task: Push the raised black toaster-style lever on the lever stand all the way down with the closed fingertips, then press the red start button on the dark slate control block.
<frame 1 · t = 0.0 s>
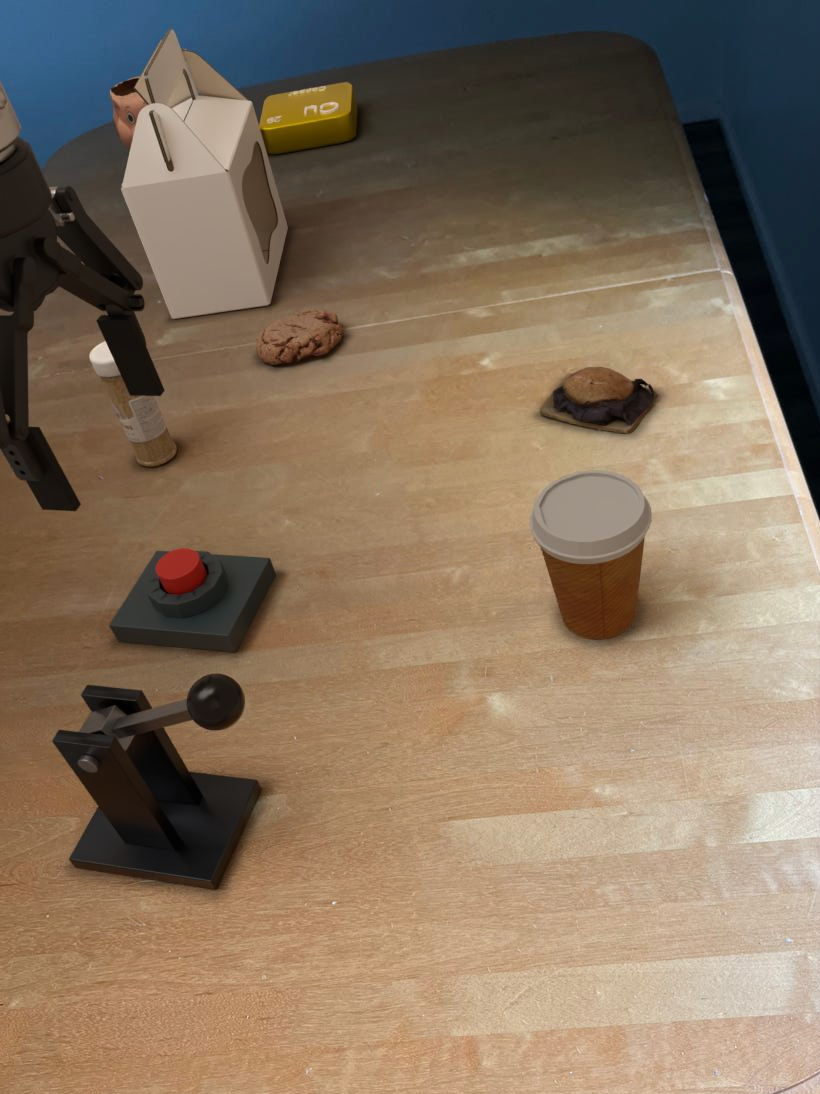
hand: (107, 447, 78), 22 cm above the table, tool pointing down, fingers open, 13 cm apart
lever stand: (169, 827, 81), on the table
control block: (198, 607, 98), on the table
start button: (181, 571, 95), point 5 cm above the table, slide at 0.1 cm
sprinkles bottle: (158, 457, 116), on the table
disposable coffee cup: (598, 614, 90), on the table
gable box: (233, 273, 144), on the table
element tile: (313, 132, 175), on the table
decorative planter: (173, 172, 172), on the table
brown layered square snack: (598, 407, 111), on the table
cookie: (302, 347, 128), on the table
toaster lever: (161, 716, 70), point 14 cm above the table, hinge at 25.0°
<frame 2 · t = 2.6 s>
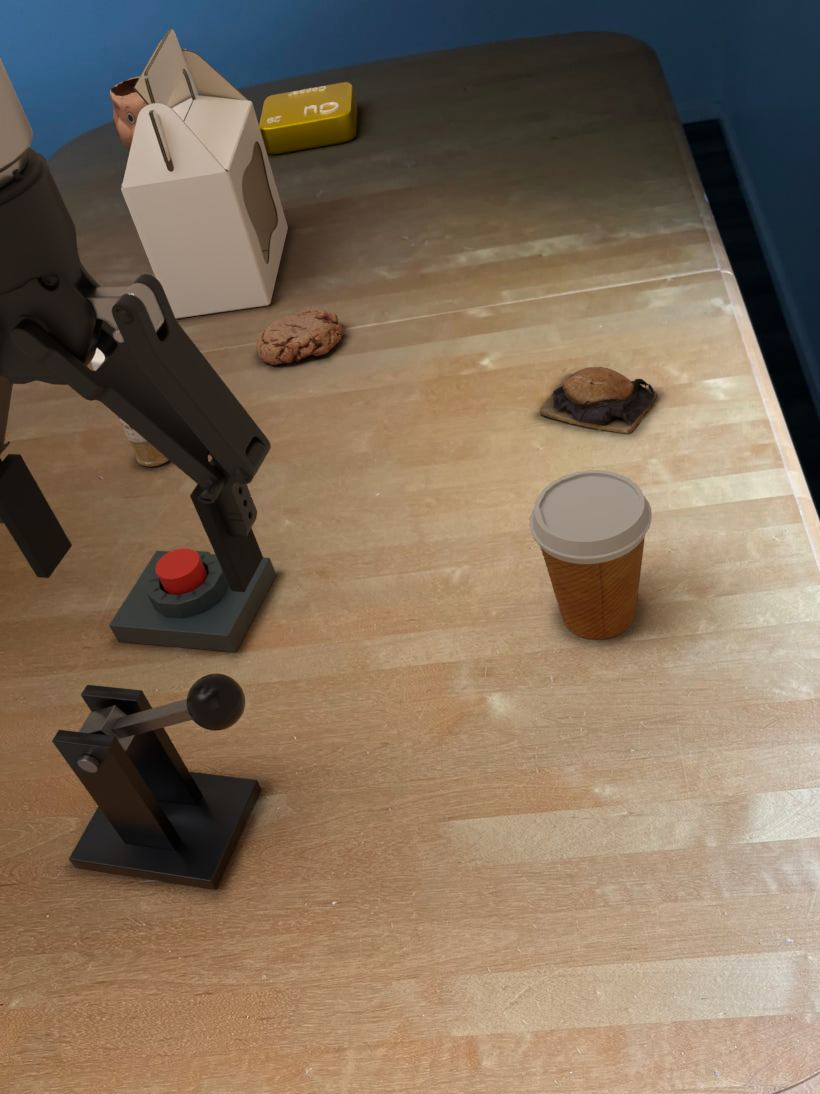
hand: (148, 567, 58), 28 cm above the table, tool pointing down, fingers open, 11 cm apart
nothing on the table moved.
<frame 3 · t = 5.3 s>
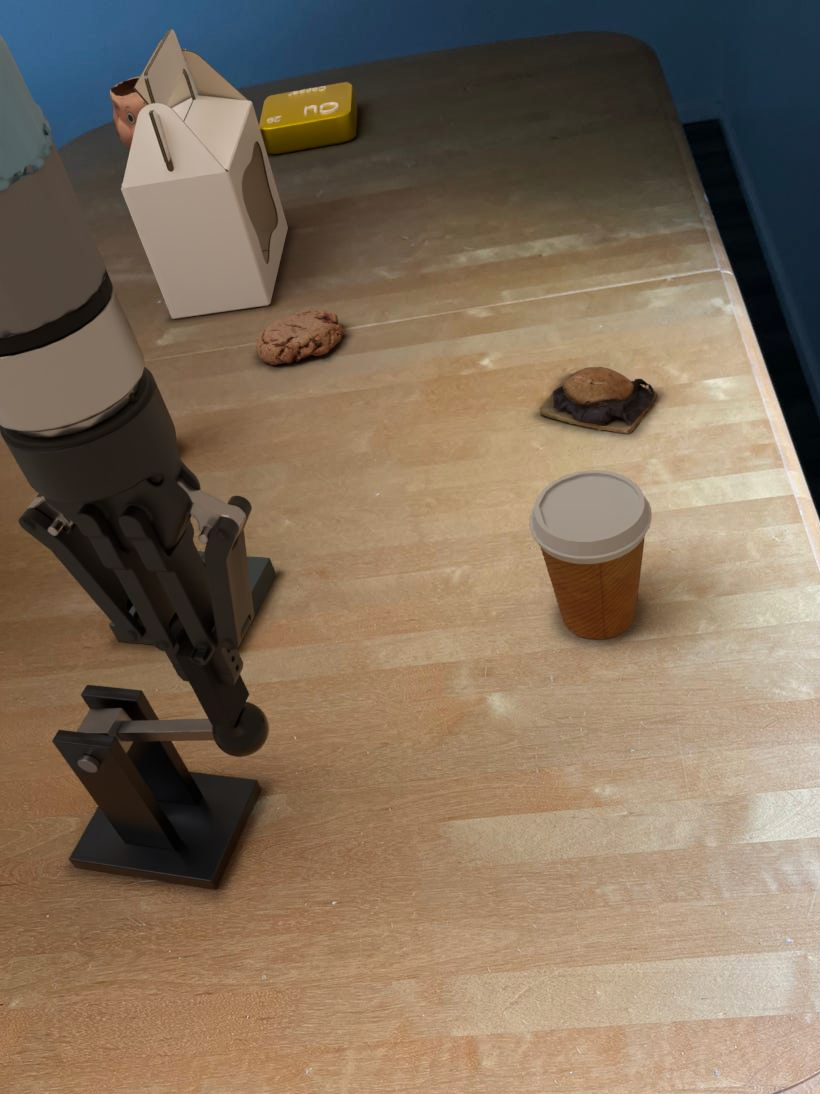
hand: (230, 709, 67), 16 cm above the table, tool pointing down, fingers closed
toaster lever: (174, 730, 70), point 13 cm above the table, hinge at 10.7°, touching gripper
everything else where it was.
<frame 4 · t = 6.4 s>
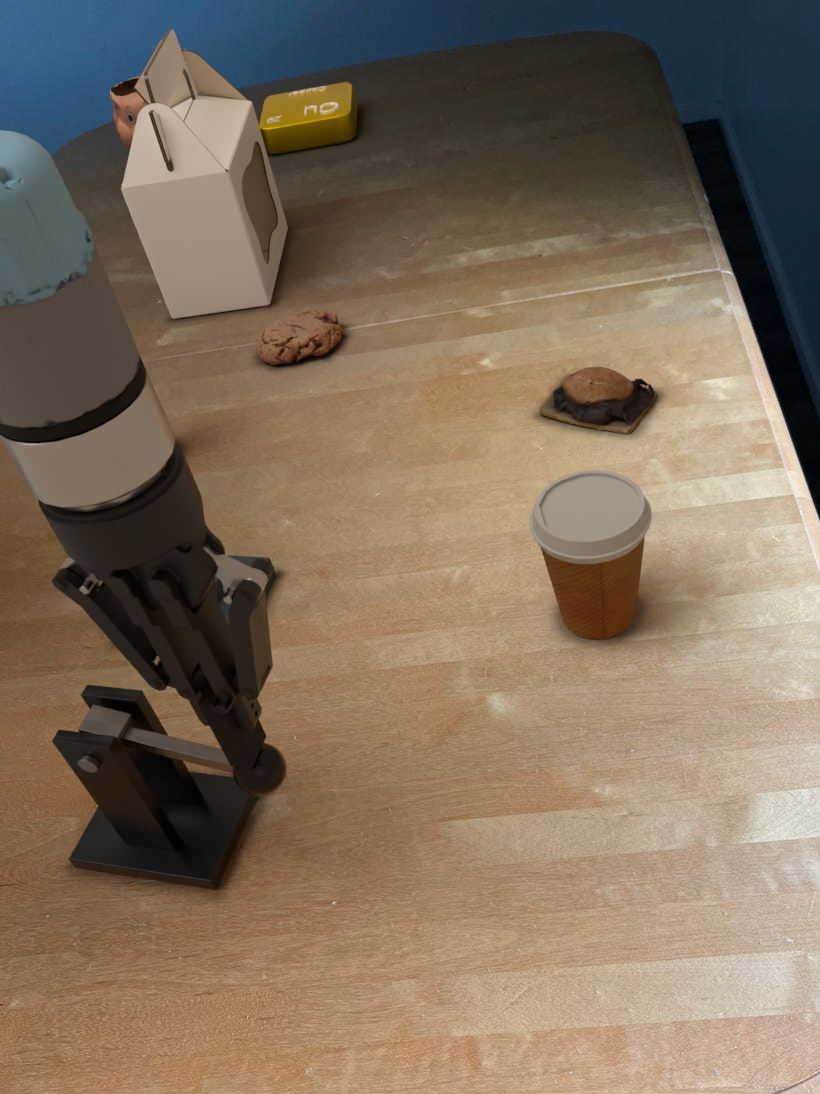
hand: (248, 750, 70), 12 cm above the table, tool pointing down, fingers closed
toaster lever: (186, 750, 72), point 11 cm above the table, hinge at -12.6°, touching gripper
everything else where it was.
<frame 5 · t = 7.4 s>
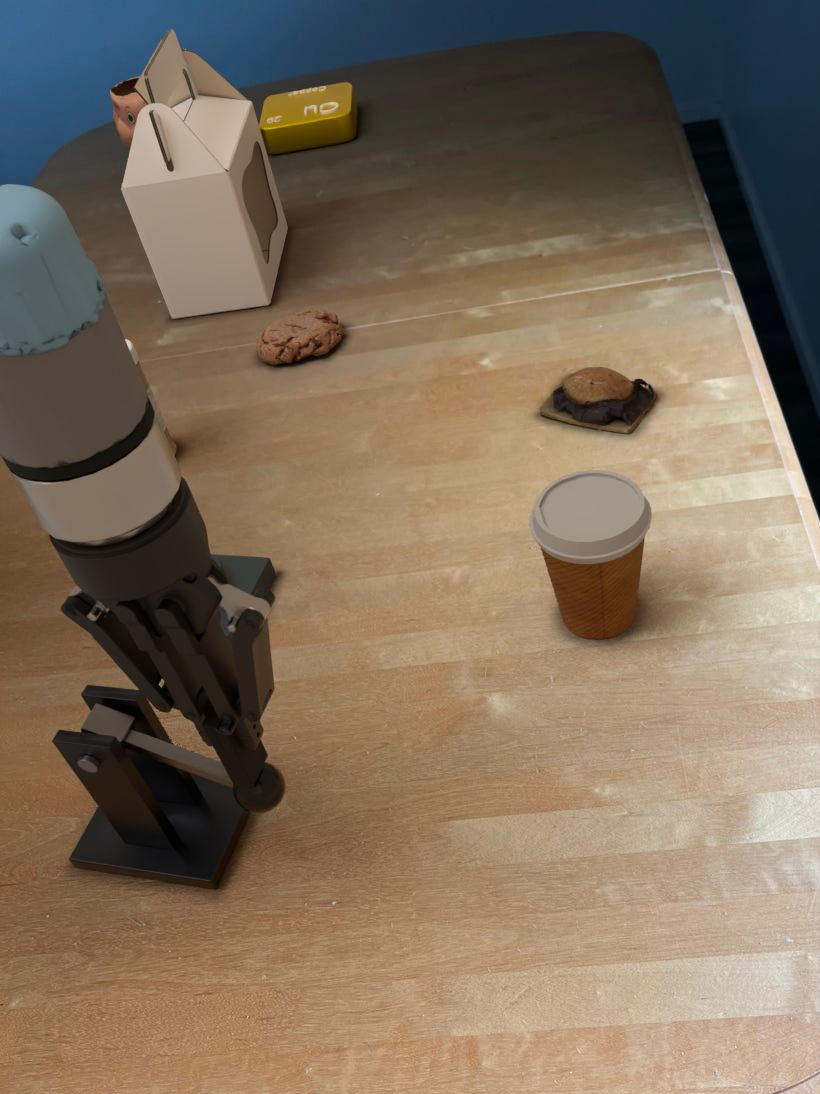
hand: (250, 769, 72), 9 cm above the table, tool pointing down, fingers closed
toaster lever: (186, 760, 73), point 10 cm above the table, hinge at -24.9°, touching gripper
everything else where it was.
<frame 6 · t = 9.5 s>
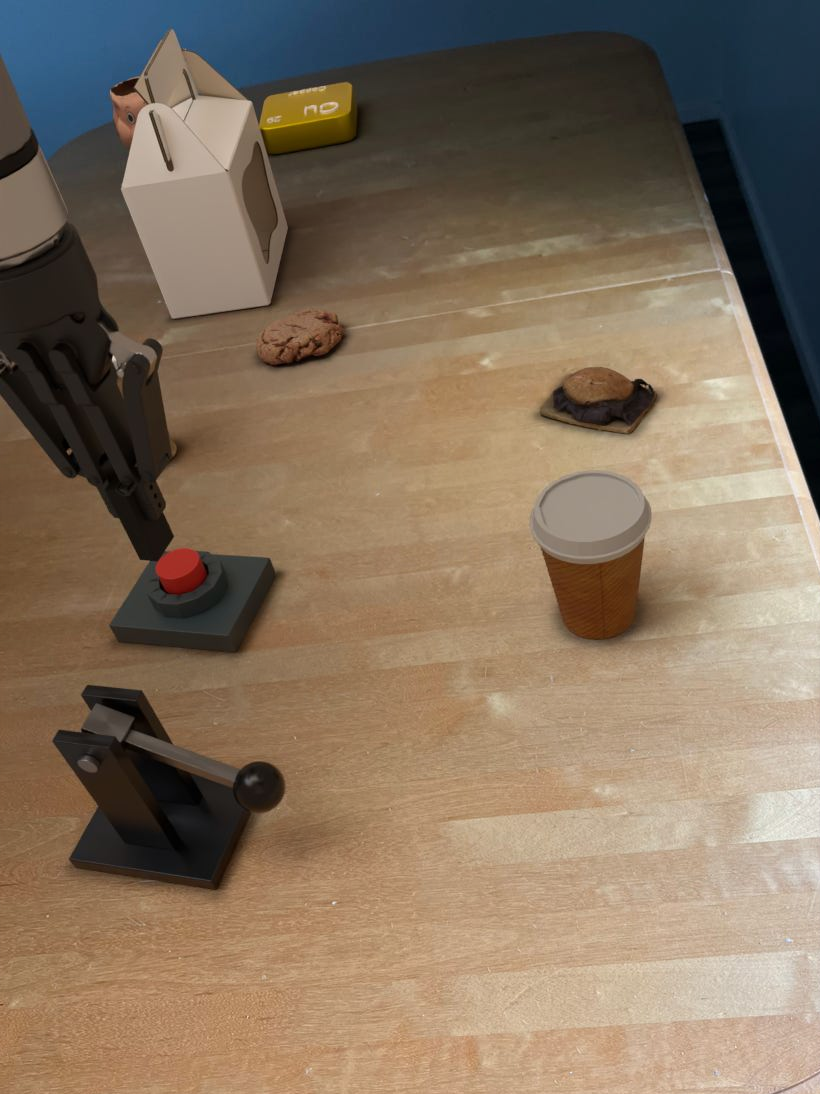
hand: (157, 547, 77), 17 cm above the table, tool pointing down, fingers closed
toaster lever: (186, 760, 73), point 10 cm above the table, hinge at -24.9°
everything else where it was.
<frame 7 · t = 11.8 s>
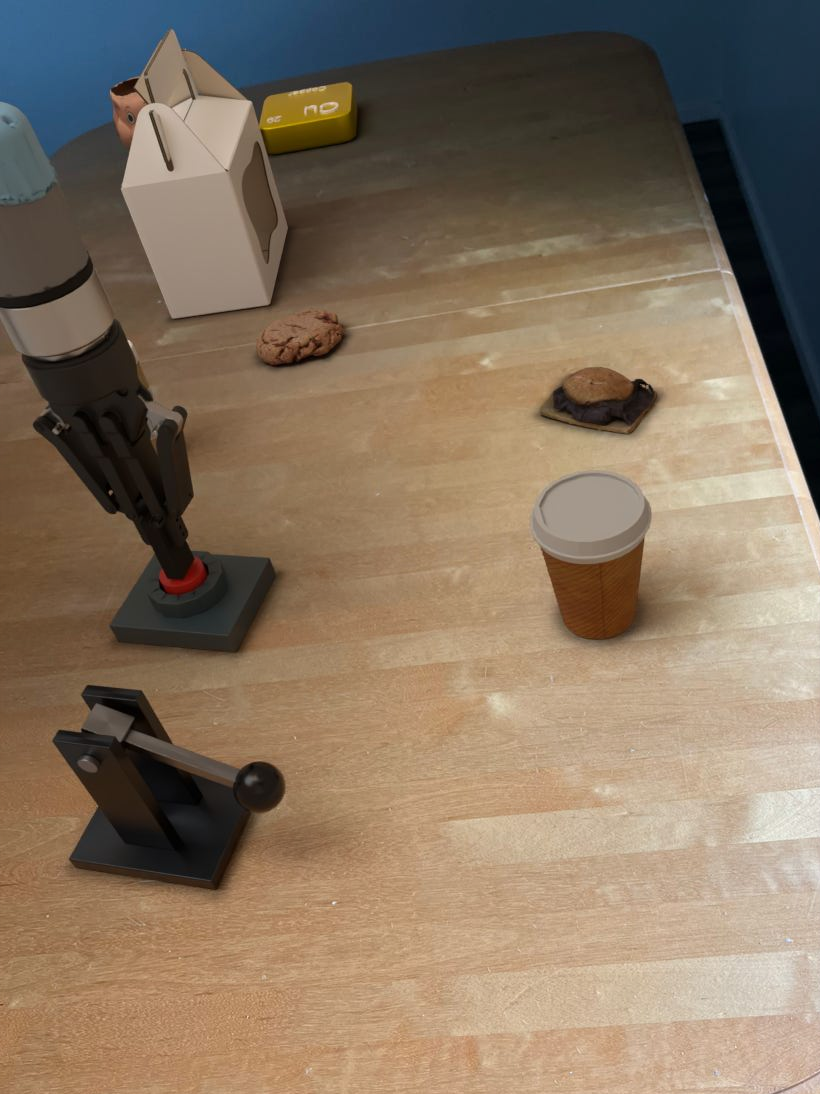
hand: (181, 568, 94), 5 cm above the table, tool pointing down, fingers closed
start button: (184, 578, 95), point 4 cm above the table, slide at -0.8 cm, touching gripper
everything else where it was.
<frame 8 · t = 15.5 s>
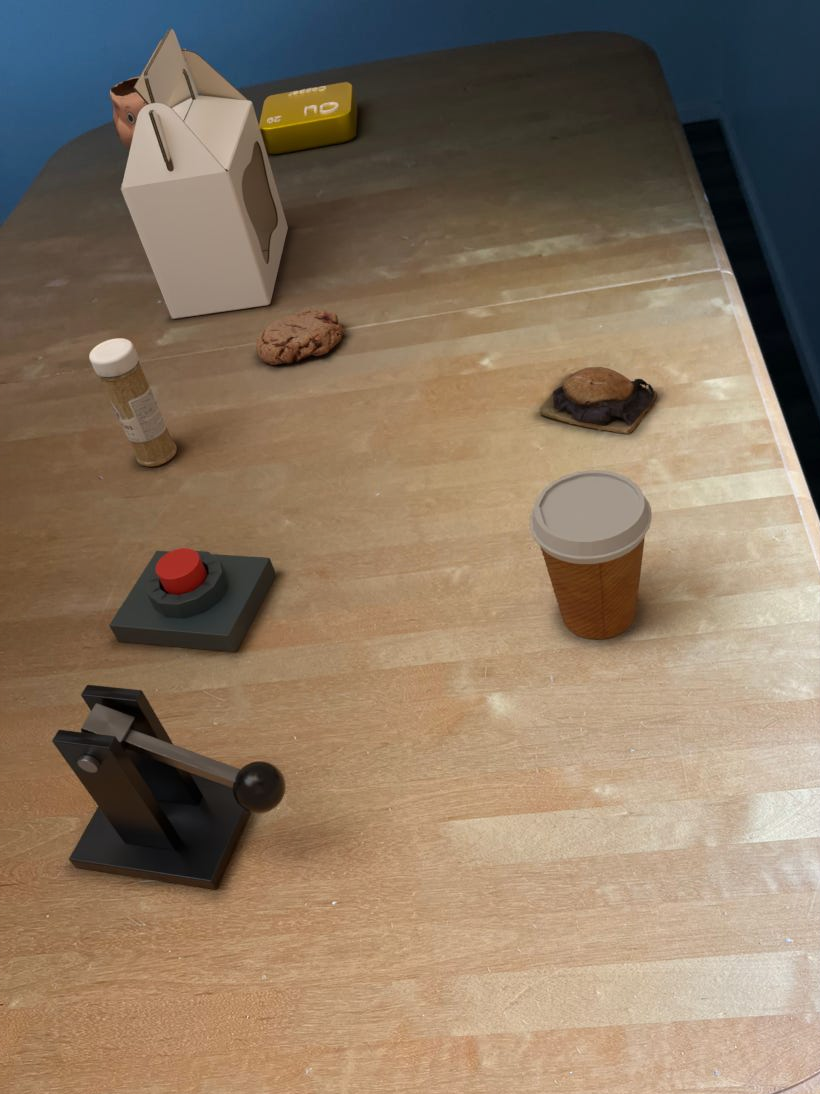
start button: (181, 571, 95), point 5 cm above the table, slide at 0.1 cm
everything else where it was.
at the end: toaster lever at -25° (first picture: +25°); start button pushed in 1.0 cm at the most during the clip, back to where it started at the end; start button slide at 0.1 cm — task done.
